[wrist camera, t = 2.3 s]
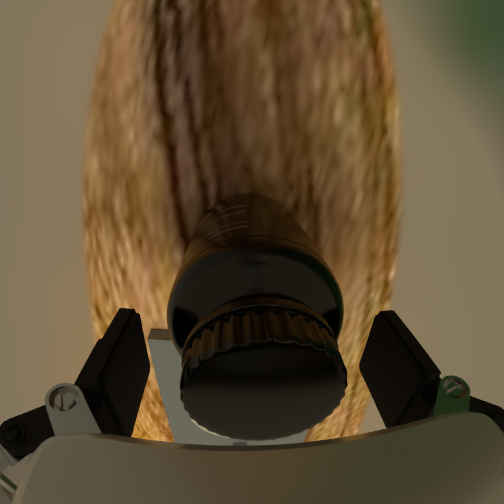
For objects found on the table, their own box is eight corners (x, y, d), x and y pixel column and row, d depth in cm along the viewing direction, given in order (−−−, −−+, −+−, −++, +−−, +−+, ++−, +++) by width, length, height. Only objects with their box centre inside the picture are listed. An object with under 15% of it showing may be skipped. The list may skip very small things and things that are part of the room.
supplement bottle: (321, 250, 19) (409, 391, 8) (241, 308, 20) (250, 469, 9) (255, 166, 16) (298, 243, 5) (170, 239, 18) (98, 388, 7)
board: (151, 329, 20) (137, 367, 17) (333, 330, 21) (350, 367, 18) (179, 443, 28) (176, 472, 24) (298, 442, 28) (303, 471, 25)
